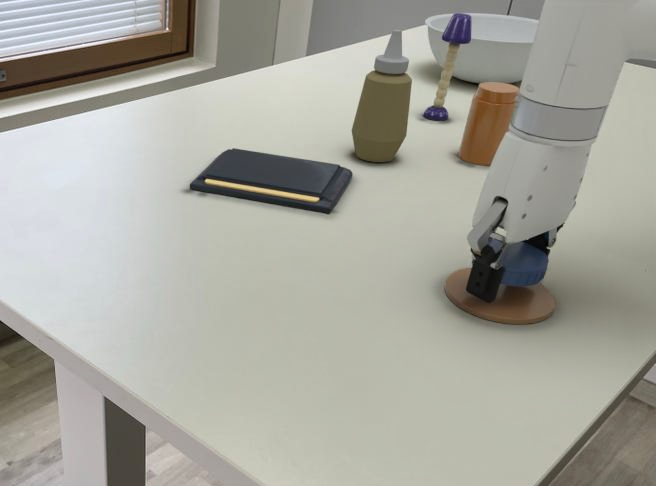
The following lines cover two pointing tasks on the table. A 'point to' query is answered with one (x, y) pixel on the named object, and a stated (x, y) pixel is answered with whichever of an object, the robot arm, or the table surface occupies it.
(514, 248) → the lid
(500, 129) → the jar
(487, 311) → the coaster
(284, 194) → the wallet
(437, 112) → the toy lamp
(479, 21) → the bowl
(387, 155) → the squeeze bottle
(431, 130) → the table surface
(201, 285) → the table surface
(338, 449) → the table surface
